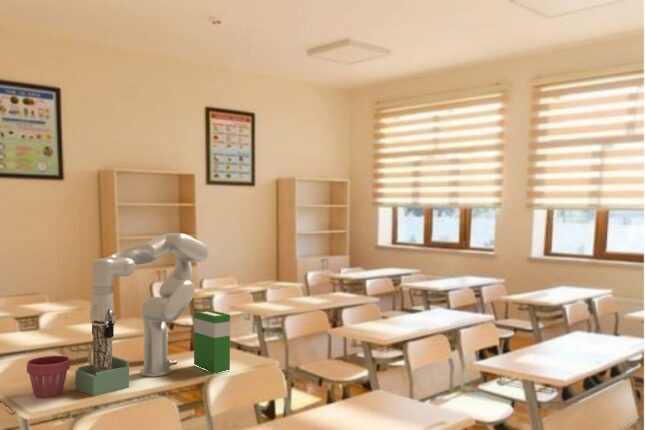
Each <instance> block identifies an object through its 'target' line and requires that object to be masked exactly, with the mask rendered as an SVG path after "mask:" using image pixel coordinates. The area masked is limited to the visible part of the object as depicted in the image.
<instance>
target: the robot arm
mask: <svg viewBox="0 0 645 430" xmlns="http://www.w3.org/2000/svg"><path fill="white" fill-rule="evenodd" d="M172 253H173V255H174V259H175V266H174V268H173V270H172V271H171V273H170V274H169V275H168V276H167V278H166V279H165V280H164V281H163V282H162V284H161V285H160V287H159V290H158V291H159V292H158V294H159V296H160V297H158V296H157V297H156V296H154V297H149V298H147V299H145V301H144V302H143V303H142V306H141V317H142V322H143V369H141V370H140V371H139V375H140V376H142V377H148V378H149V377H152V378H153V377H154V378H155V377H162V376H165V375H169V374H170V373H171V372H172V369H171V366H177V365H178V361H177V360H176V359H175V360H168V337H167V335H169V334H168V332H169V331H168V325H167V323H173V322H174V321H176V320H177V319H179V318H180V316H181V315H182V314H183V313H184V312H185V310H186V308H187V307H188V306H189V304H190V303H191V301H192V300H193V297H194V296H195V291H196V290H195V289H196V288H195V285H194V284H193V282H192V281H190V280H191V279H192V277H193V267H192V263H200V262H204V261H206V259H207V258H208V257H209V250H208V247H207V245H206V244H205V243H204V242H202V241H200V240H198V239H196V238H194V237H193V236H190V235H189V234H186V233H183V232H167V233H164V234H162V235H161V234H160V235H159V236H157V237H155V238H153V239H150V240H148V241H146V242H145V243H144V242H143V243H142V244H138V245H135V246H132V247H128V248H125V249H122V250H119V251H117V252H115V253H112V254H111V255H109V256H106V257H105V258H104V257H103V258H96V259H94V260H93V261H92V289H91V291H92V292H91V293H92V295H91V301H90V311H89V312H90V313H89V314H90V315H89V319H90V320H91V322H90V323H91V334H92V336H93V323H94V322H103V321H104V322H105V325H106V327H105V338H110V337H112V338H114V332H115V328H114V327H115V323H116V320H117V319H116V318H117V315H116V314H115V301H114V295H115V294H114V293H115V292H114V284H115V283H114V282H115V280H114V278H115V277H128V276H131V275H133V273H134V272H135V271H136V266H137V265H147V264H151V263H154V262H156V261H157V260H160V259H161V258H163V257H165V256H167V255H169V254H172ZM108 322H109V323H108Z"/></svg>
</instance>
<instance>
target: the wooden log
mask: <svg viewBox="0 0 645 430" xmlns="http://www.w3.org/2000/svg"><path fill="white" fill-rule="evenodd" d="M108 323H109V322H108ZM105 327H106V325H105V322H104V321H103V322H94V323H93V335H92V364H93V375H94V376H95V373H98V372H102V371H107V370H112V356H113V337H110V338H105Z"/></svg>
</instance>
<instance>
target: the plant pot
mask: <svg viewBox="0 0 645 430" xmlns="http://www.w3.org/2000/svg"><path fill="white" fill-rule="evenodd" d="M70 369H71V360H70V357H69V356H66V355H47V356H40V357H35V358H31V359H29V360H28V361H27V364H26V374H27V375H28V374H29V379H30V384H31V388H32V391H33V392H32V393H33V396H34V398H35V399H40V400H44V399H46V398H47V399H53V398H57V397H59V396H61V395H62V393H63V389H64V386H65V382H66V378H67V373H68V371H69V370H70Z"/></svg>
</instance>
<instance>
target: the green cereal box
mask: <svg viewBox="0 0 645 430" xmlns="http://www.w3.org/2000/svg"><path fill="white" fill-rule="evenodd" d="M193 312H194V313H193V316H194V317H193V328H194V329H193V338H194V339H193V365H194V364H195V365H197V366H199V367H201V368H204V369H206V370H208V371H210V372H209V373H211V372H212V373H211V374H213V373H217V374H219V373H218V372H222V371H226V370H231V314H230V313H225V312H221V311H217V310H212V309H207V310H206V311H202V312H201V311H197V310H196V311H193ZM201 368H200V369H201ZM206 370H205V371H206ZM208 371H207V372H208ZM222 373H223V372H222Z"/></svg>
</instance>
